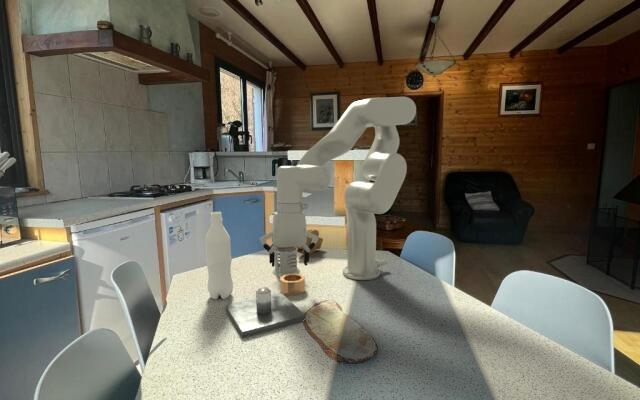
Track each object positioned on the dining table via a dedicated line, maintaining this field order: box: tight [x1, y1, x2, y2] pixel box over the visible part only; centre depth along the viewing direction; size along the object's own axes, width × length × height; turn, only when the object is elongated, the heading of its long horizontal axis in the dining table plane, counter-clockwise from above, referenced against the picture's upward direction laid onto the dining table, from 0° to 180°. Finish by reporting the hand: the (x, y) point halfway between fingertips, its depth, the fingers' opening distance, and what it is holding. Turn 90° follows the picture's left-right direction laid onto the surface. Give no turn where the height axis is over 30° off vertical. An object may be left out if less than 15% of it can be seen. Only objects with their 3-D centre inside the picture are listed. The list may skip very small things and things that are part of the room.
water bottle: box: [204, 211, 234, 301], centre depth 102 cm, size 7×7×25 cm
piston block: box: [225, 286, 306, 339], centre depth 91 cm, size 16×16×7 cm
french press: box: [272, 247, 301, 277], centre depth 121 cm, size 10×12×25 cm
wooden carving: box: [296, 229, 324, 256], centre depth 143 cm, size 16×5×10 cm, turn 150°
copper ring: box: [279, 273, 306, 296], centre depth 106 cm, size 7×7×4 cm
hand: (289, 264), depth 105 cm, fingers open, 9 cm apart
